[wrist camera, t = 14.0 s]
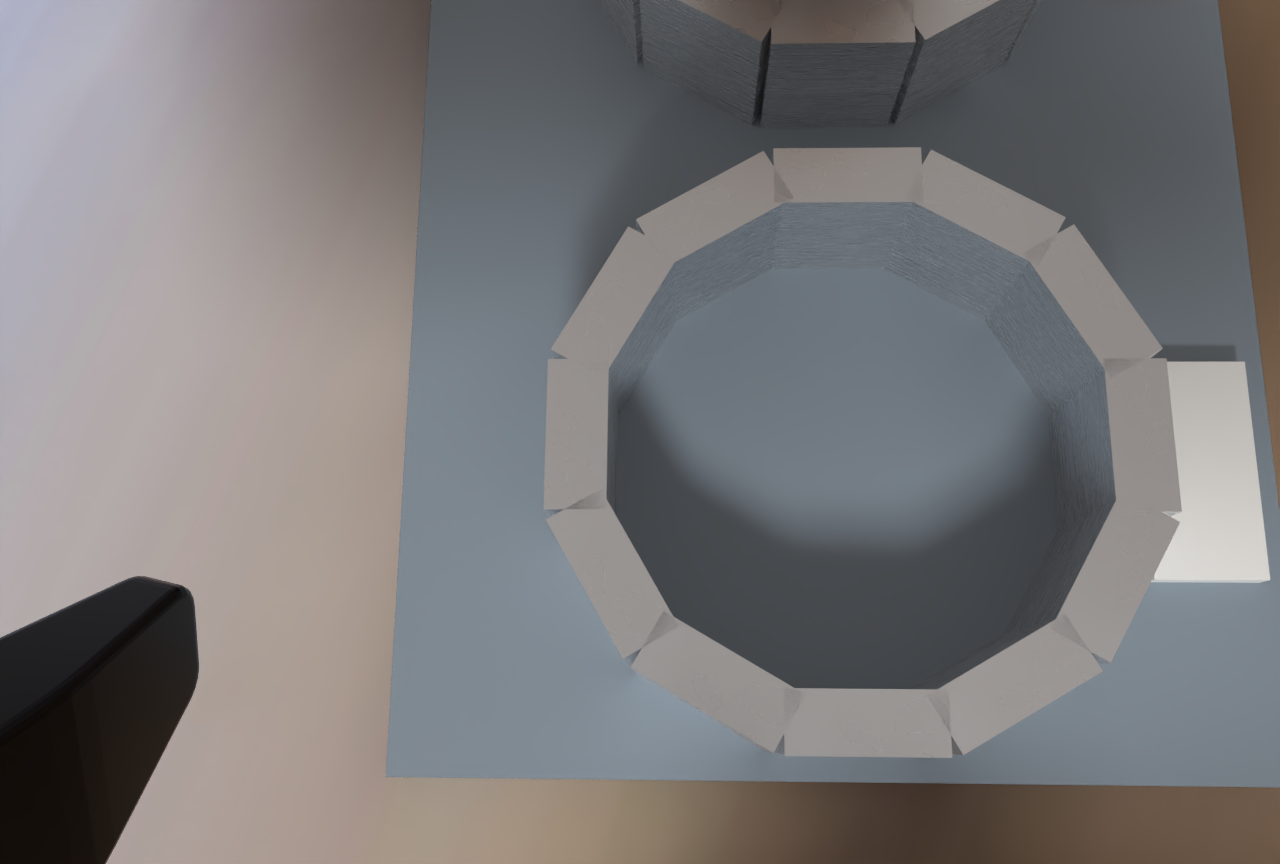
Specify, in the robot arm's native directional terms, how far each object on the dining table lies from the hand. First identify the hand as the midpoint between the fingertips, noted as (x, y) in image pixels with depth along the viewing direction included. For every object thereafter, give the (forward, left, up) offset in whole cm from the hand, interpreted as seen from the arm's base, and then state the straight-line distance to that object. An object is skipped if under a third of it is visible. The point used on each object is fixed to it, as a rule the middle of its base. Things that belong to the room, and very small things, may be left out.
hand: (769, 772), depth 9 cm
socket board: (+8, -8, -14) cm, 17 cm away
